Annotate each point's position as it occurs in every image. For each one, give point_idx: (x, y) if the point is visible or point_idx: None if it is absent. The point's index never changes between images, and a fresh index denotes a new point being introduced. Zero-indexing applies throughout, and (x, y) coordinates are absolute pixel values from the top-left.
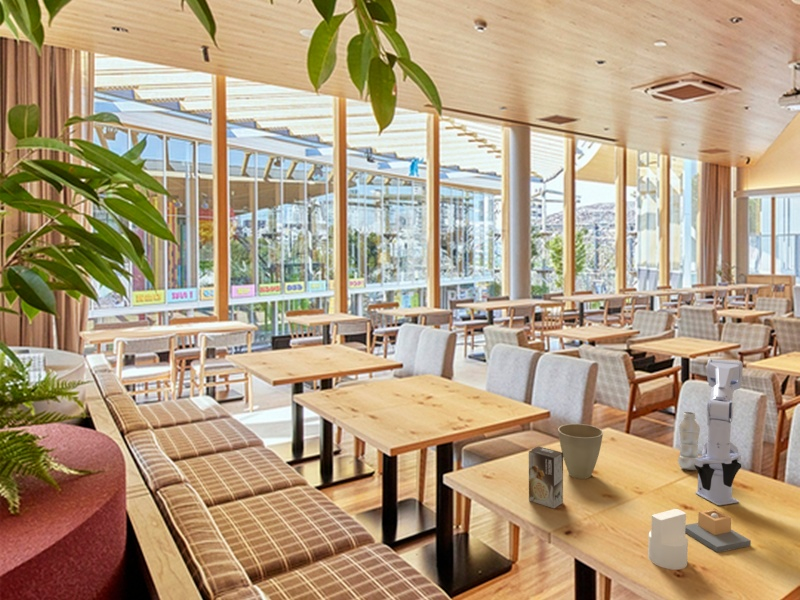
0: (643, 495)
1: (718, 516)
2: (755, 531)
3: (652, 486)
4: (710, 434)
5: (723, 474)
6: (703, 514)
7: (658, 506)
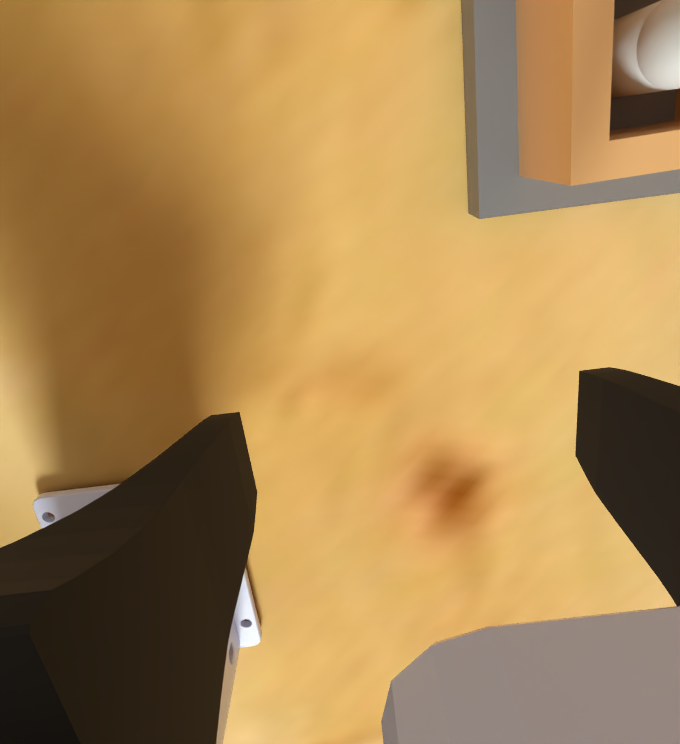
0: None
1: (669, 5)
2: (203, 35)
3: None
4: None
5: (233, 606)
6: None
7: None
